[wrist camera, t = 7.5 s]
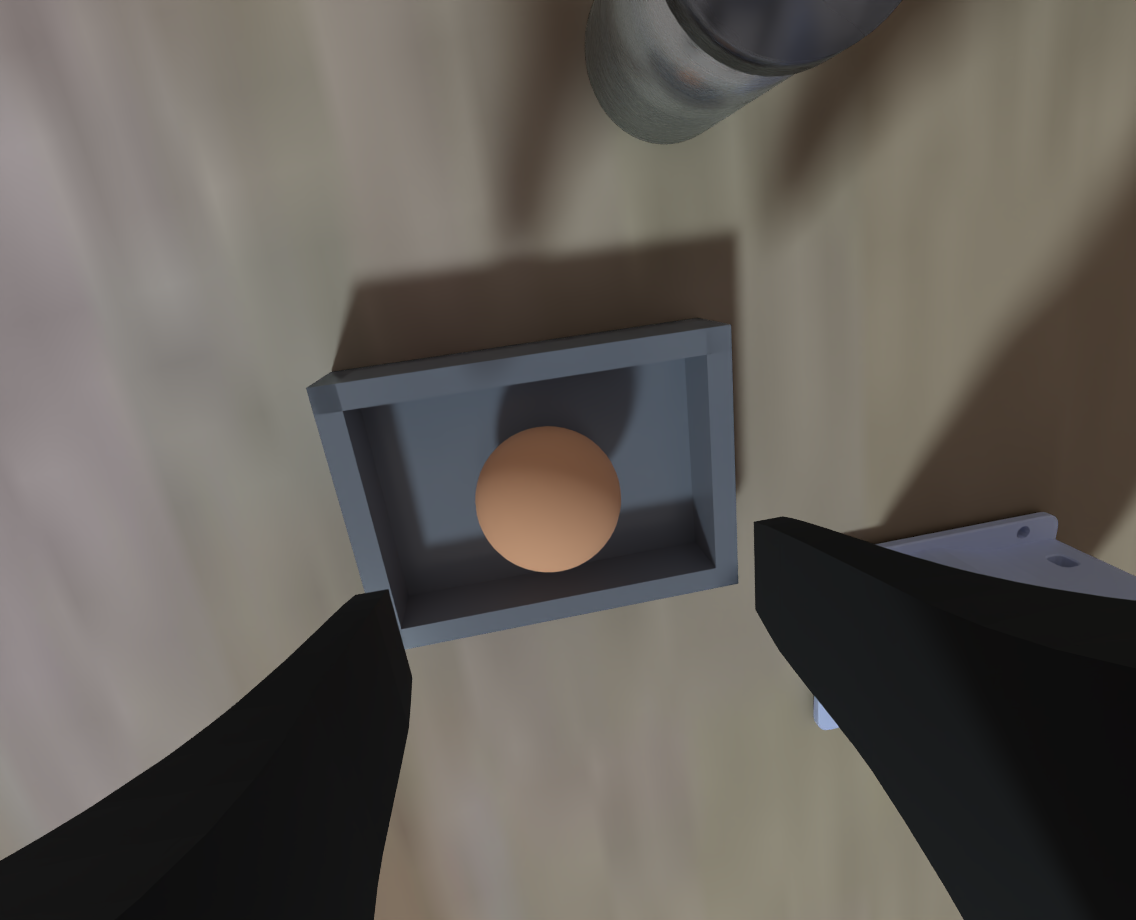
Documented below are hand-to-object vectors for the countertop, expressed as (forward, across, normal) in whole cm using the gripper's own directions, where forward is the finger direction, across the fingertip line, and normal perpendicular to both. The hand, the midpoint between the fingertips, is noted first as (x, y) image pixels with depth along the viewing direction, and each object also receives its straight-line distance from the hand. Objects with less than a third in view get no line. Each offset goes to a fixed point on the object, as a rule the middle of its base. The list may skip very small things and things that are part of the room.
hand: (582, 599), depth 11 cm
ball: (+7, 0, 0) cm, 7 cm away
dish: (+8, 0, 0) cm, 8 cm away
